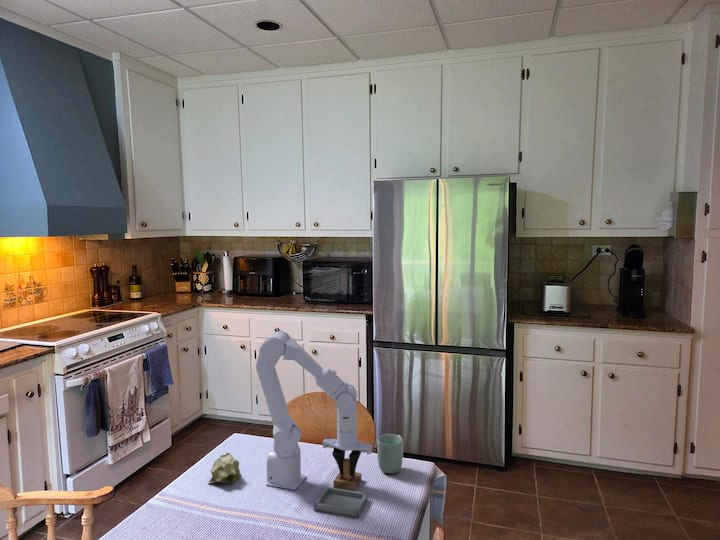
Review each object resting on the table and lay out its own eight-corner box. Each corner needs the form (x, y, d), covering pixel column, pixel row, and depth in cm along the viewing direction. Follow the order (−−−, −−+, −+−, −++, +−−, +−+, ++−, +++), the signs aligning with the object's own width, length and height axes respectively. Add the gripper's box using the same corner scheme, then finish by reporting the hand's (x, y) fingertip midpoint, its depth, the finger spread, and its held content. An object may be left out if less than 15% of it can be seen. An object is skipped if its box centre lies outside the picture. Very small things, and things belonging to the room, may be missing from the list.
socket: (333, 487, 138) (333, 480, 138) (341, 476, 144) (341, 470, 144) (354, 490, 136) (354, 484, 136) (361, 479, 142) (361, 473, 142)
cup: (401, 478, 143) (401, 445, 142) (375, 475, 144) (375, 443, 143) (404, 465, 150) (404, 434, 150) (379, 463, 152) (379, 432, 151)
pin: (342, 485, 139) (341, 461, 138) (345, 480, 142) (344, 457, 141) (350, 486, 138) (350, 463, 138) (353, 482, 141) (353, 458, 140)
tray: (314, 510, 126) (313, 504, 126) (326, 492, 135) (326, 486, 135) (357, 518, 123) (357, 511, 123) (367, 499, 131) (367, 493, 131)
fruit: (218, 476, 148) (221, 449, 148) (245, 482, 145) (249, 455, 146) (201, 485, 139) (205, 457, 140) (230, 492, 137) (234, 463, 137)
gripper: (375, 426, 140) (375, 470, 141) (328, 420, 145) (329, 464, 146) (368, 435, 133) (368, 482, 135) (319, 429, 138) (320, 475, 139)
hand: (347, 473), depth 140 cm, fingers closed on pin, 3 cm apart
